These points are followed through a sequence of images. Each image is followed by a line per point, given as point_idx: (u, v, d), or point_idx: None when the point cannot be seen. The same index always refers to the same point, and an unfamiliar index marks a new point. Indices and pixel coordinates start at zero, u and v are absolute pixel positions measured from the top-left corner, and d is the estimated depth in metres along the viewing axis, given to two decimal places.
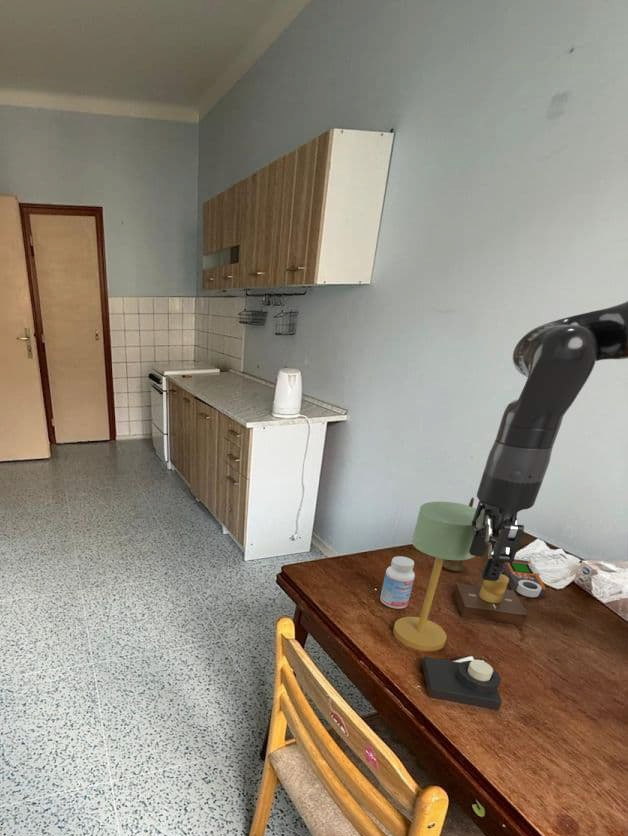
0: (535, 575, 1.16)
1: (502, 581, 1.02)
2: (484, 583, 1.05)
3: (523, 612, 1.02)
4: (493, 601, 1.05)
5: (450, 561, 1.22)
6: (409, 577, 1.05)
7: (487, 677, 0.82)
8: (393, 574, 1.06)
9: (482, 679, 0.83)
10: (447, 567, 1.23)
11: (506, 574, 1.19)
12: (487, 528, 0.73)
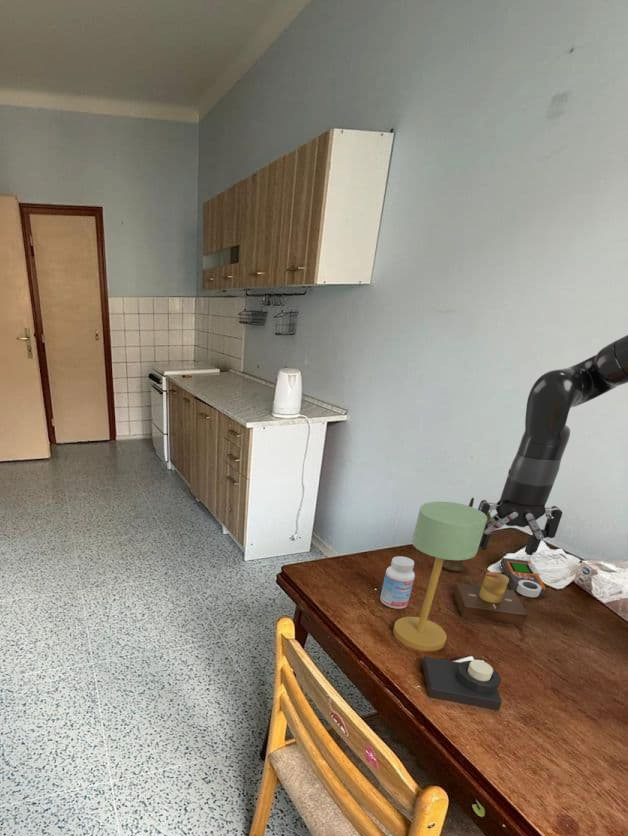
0: (535, 575, 1.16)
1: (502, 581, 1.02)
2: (484, 583, 1.05)
3: (523, 612, 1.02)
4: (493, 601, 1.05)
5: (450, 561, 1.22)
6: (409, 577, 1.05)
7: (487, 677, 0.82)
8: (393, 574, 1.06)
9: (482, 679, 0.83)
10: (447, 567, 1.23)
11: (506, 574, 1.19)
12: None
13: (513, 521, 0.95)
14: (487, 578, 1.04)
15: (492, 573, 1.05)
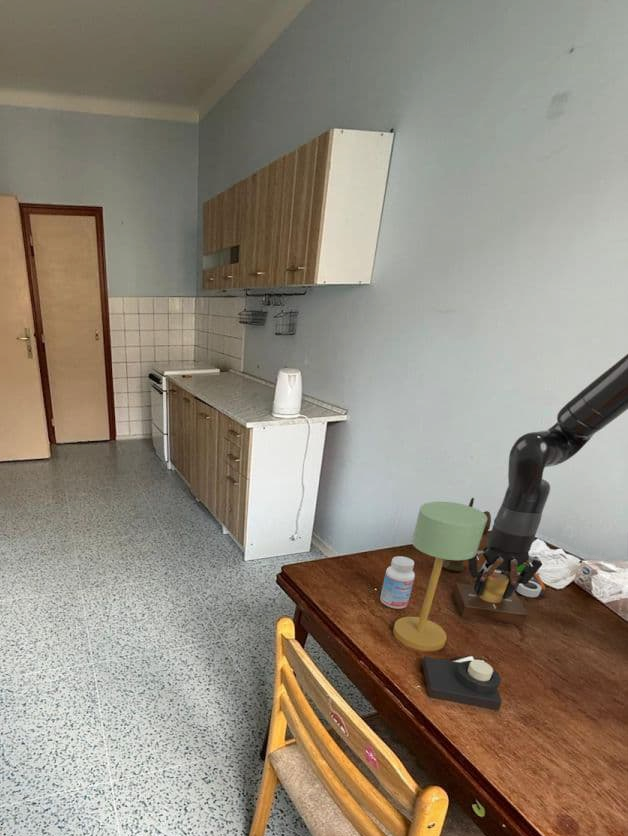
0: (535, 575, 1.16)
1: (502, 581, 1.02)
2: None
3: (523, 612, 1.02)
4: (493, 601, 1.05)
5: (450, 561, 1.22)
6: (409, 577, 1.05)
7: (487, 677, 0.82)
8: (393, 574, 1.06)
9: (482, 679, 0.83)
10: (447, 567, 1.23)
11: (506, 574, 1.19)
12: None
13: (499, 566, 1.02)
14: (487, 578, 1.04)
15: None
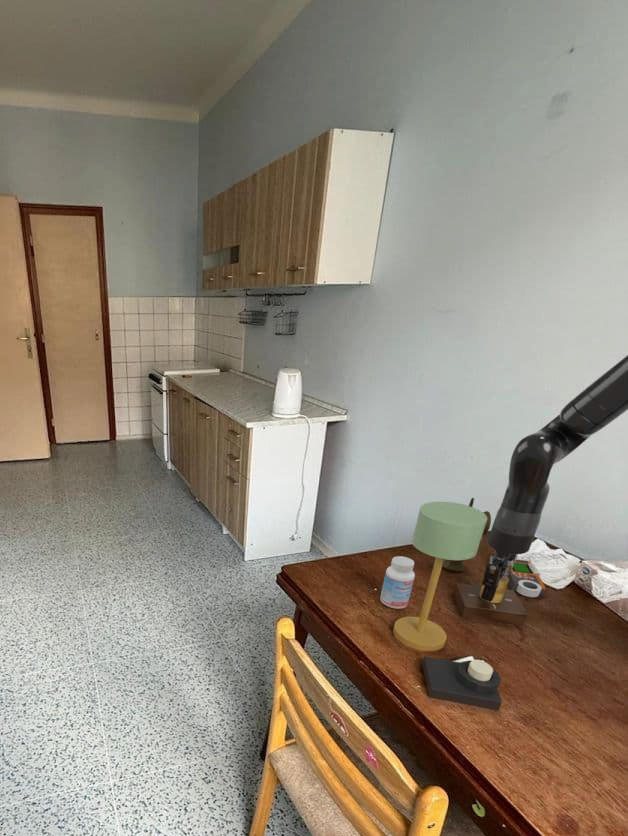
0: (535, 575, 1.16)
1: (507, 579, 1.03)
2: None
3: (523, 612, 1.02)
4: (501, 599, 1.05)
5: (450, 561, 1.22)
6: (409, 577, 1.05)
7: (487, 677, 0.82)
8: (393, 574, 1.06)
9: (482, 679, 0.83)
10: (447, 567, 1.23)
11: None
12: (490, 562, 1.02)
13: None
14: None
15: None
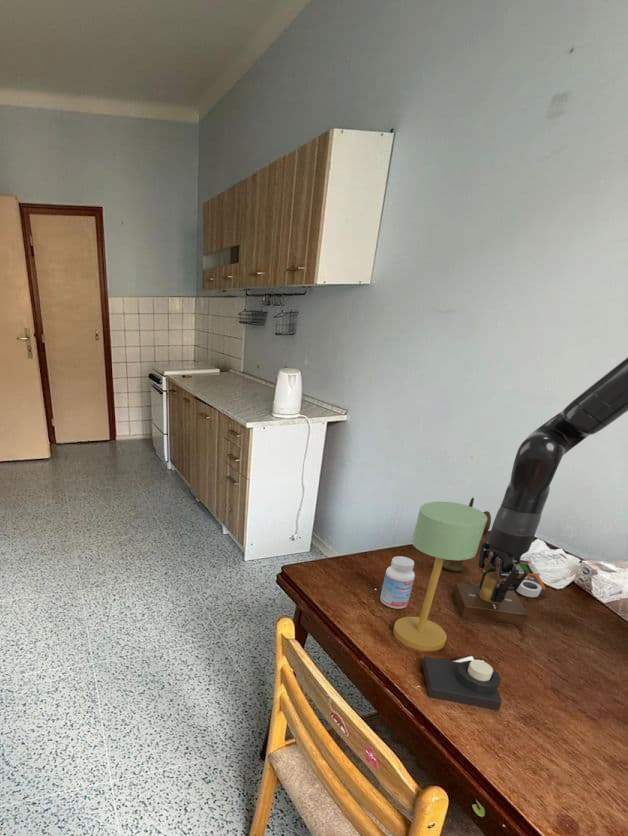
0: (535, 575, 1.16)
1: None
2: None
3: (523, 612, 1.02)
4: None
5: (450, 561, 1.22)
6: (409, 577, 1.05)
7: (487, 677, 0.82)
8: (393, 574, 1.06)
9: (482, 679, 0.83)
10: (447, 567, 1.23)
11: None
12: (498, 567, 1.01)
13: None
14: None
15: (493, 578, 1.04)
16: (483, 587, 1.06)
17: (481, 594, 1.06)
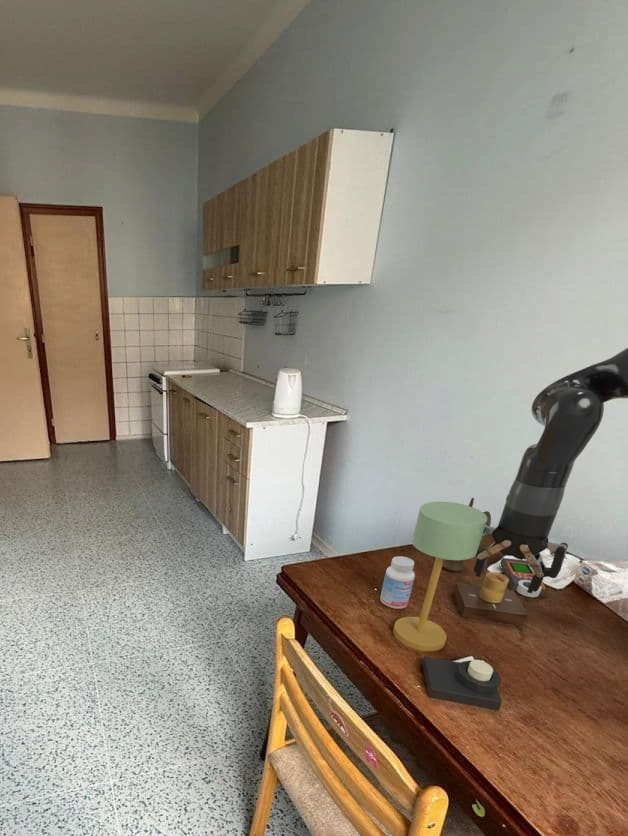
0: None
1: (503, 575, 1.05)
2: (502, 589, 1.03)
3: (523, 612, 1.02)
4: None
5: (450, 561, 1.22)
6: (409, 577, 1.05)
7: (487, 677, 0.82)
8: (393, 574, 1.06)
9: (482, 679, 0.83)
10: (447, 567, 1.23)
11: (506, 574, 1.19)
12: (527, 554, 0.84)
13: None
14: (506, 582, 1.02)
15: (493, 578, 1.03)
16: (483, 587, 1.06)
17: (481, 594, 1.06)
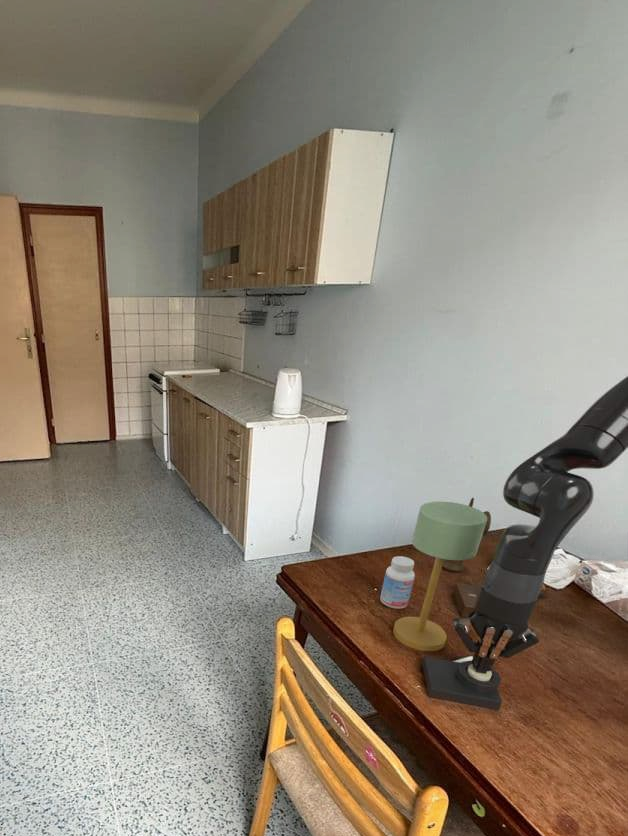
0: None
1: None
2: None
3: None
4: None
5: (450, 561, 1.22)
6: (409, 577, 1.05)
7: (485, 681, 0.83)
8: (393, 574, 1.06)
9: None
10: (447, 567, 1.23)
11: None
12: (511, 639, 0.78)
13: None
14: None
15: None
16: None
17: None
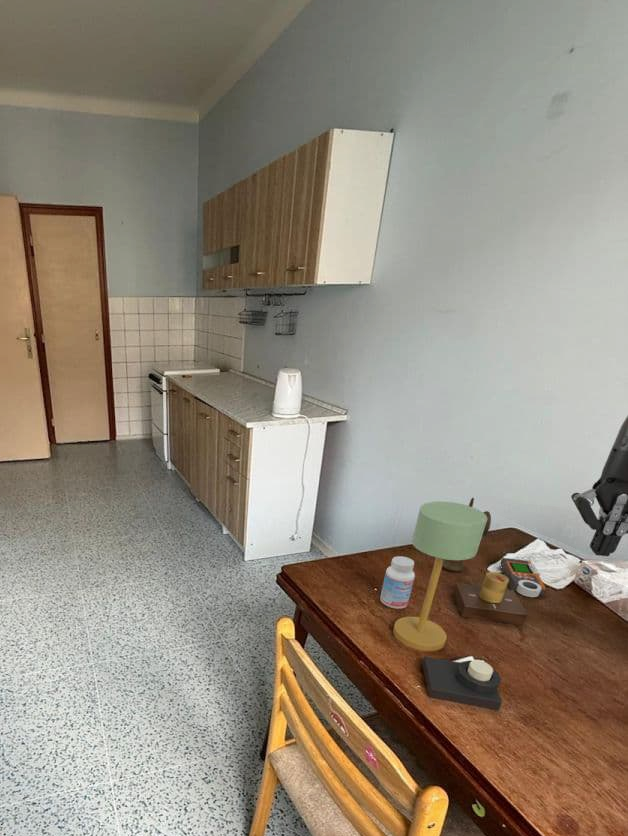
0: (535, 575, 1.16)
1: (503, 575, 1.05)
2: (502, 589, 1.03)
3: (523, 612, 1.02)
4: None
5: (450, 561, 1.22)
6: (409, 577, 1.05)
7: (487, 677, 0.82)
8: (393, 574, 1.06)
9: (482, 679, 0.83)
10: (447, 567, 1.23)
11: (506, 574, 1.19)
12: None
13: None
14: (506, 582, 1.02)
15: (493, 578, 1.03)
16: (483, 587, 1.06)
17: (481, 594, 1.06)
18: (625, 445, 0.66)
